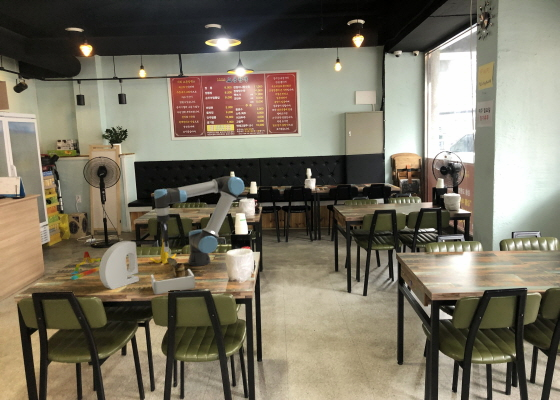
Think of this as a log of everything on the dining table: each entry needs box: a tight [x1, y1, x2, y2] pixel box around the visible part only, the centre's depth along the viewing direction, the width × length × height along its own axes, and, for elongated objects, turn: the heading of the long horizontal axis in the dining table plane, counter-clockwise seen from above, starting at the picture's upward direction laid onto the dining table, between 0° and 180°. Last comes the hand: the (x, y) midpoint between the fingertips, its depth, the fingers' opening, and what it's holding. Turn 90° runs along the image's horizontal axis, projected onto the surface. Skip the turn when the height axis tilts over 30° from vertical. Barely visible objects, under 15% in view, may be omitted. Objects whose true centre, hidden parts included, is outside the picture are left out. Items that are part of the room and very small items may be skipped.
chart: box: [70, 251, 102, 281], centre depth 279 cm, size 30×3×15 cm, turn 158°
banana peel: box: [149, 239, 177, 265], centre depth 298 cm, size 17×19×17 cm
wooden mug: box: [167, 257, 187, 279], centre depth 249 cm, size 9×14×18 cm, turn 163°
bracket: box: [98, 240, 140, 290], centre depth 251 cm, size 7×21×25 cm, turn 142°
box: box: [150, 268, 196, 295], centre depth 244 cm, size 22×15×7 cm
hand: (166, 251), depth 265 cm, fingers closed
